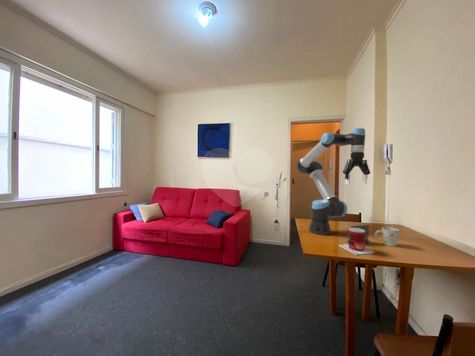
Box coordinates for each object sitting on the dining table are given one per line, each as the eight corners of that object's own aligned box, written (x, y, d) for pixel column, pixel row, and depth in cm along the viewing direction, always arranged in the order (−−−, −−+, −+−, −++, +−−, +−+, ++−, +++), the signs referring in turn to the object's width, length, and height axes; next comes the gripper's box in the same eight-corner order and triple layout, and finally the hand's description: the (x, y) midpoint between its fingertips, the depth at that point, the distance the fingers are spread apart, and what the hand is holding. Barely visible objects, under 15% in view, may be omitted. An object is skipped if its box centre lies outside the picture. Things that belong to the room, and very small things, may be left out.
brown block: (346, 241, 114) (346, 224, 114) (363, 240, 118) (364, 223, 117) (352, 244, 110) (353, 227, 109) (370, 243, 113) (371, 225, 113)
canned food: (366, 249, 102) (367, 230, 101) (360, 252, 97) (361, 232, 97) (352, 244, 108) (353, 226, 108) (345, 247, 104) (346, 228, 103)
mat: (339, 245, 107) (339, 244, 107) (355, 244, 110) (355, 243, 110) (356, 255, 96) (356, 253, 96) (374, 253, 98) (374, 251, 98)
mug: (402, 247, 107) (402, 231, 106) (378, 245, 109) (378, 229, 109) (392, 242, 115) (393, 227, 114) (370, 240, 117) (371, 225, 117)
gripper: (346, 150, 112) (345, 184, 113) (377, 152, 118) (376, 184, 119) (337, 151, 119) (335, 183, 120) (367, 153, 125) (365, 183, 126)
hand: (355, 184), depth 119 cm, fingers open, 13 cm apart
